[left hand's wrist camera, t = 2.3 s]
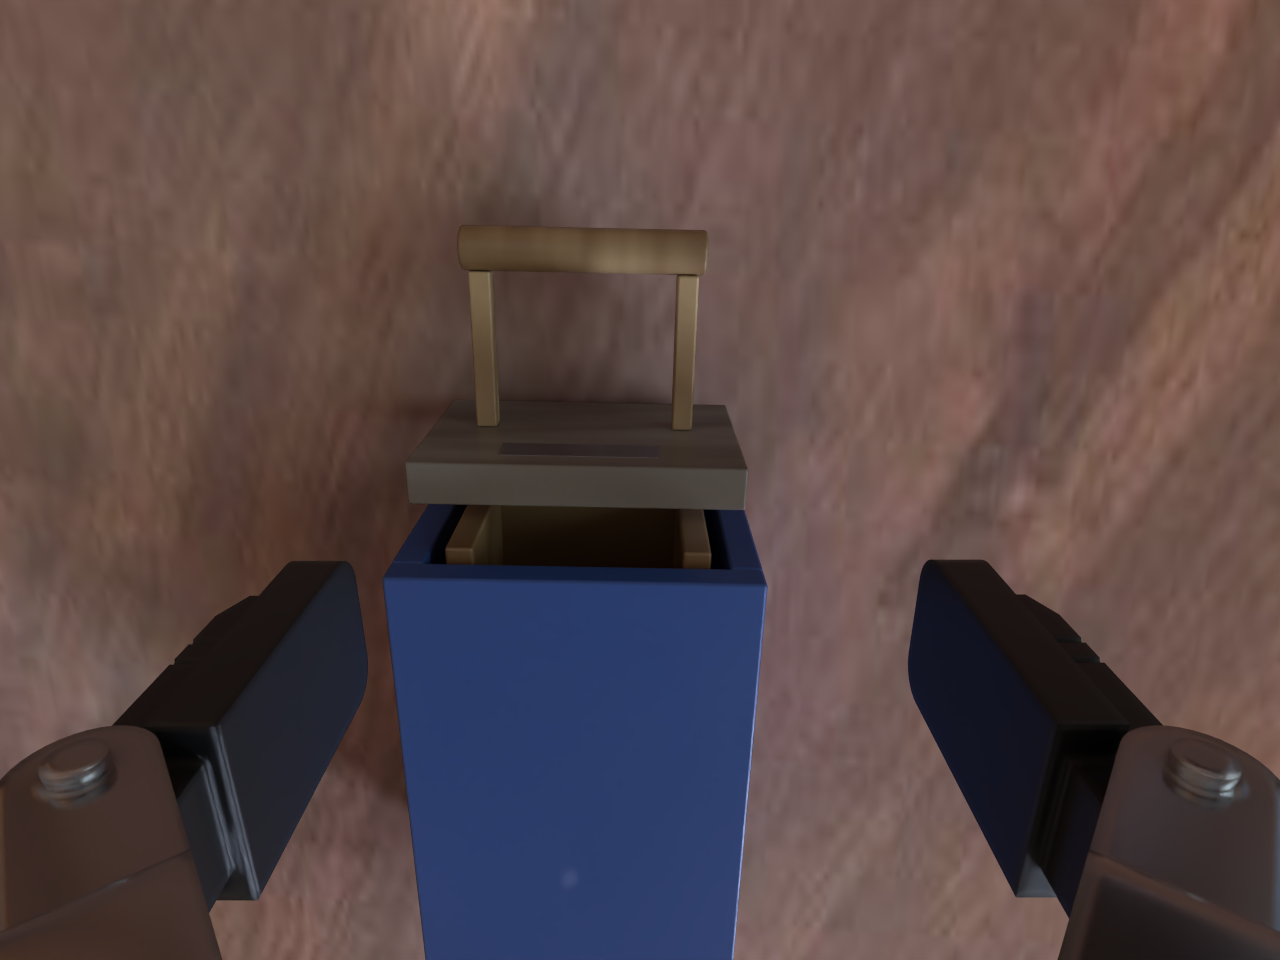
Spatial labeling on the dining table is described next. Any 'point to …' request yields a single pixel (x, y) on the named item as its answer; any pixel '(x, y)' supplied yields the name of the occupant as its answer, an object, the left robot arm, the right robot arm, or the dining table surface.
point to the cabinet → (576, 747)
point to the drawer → (580, 429)
